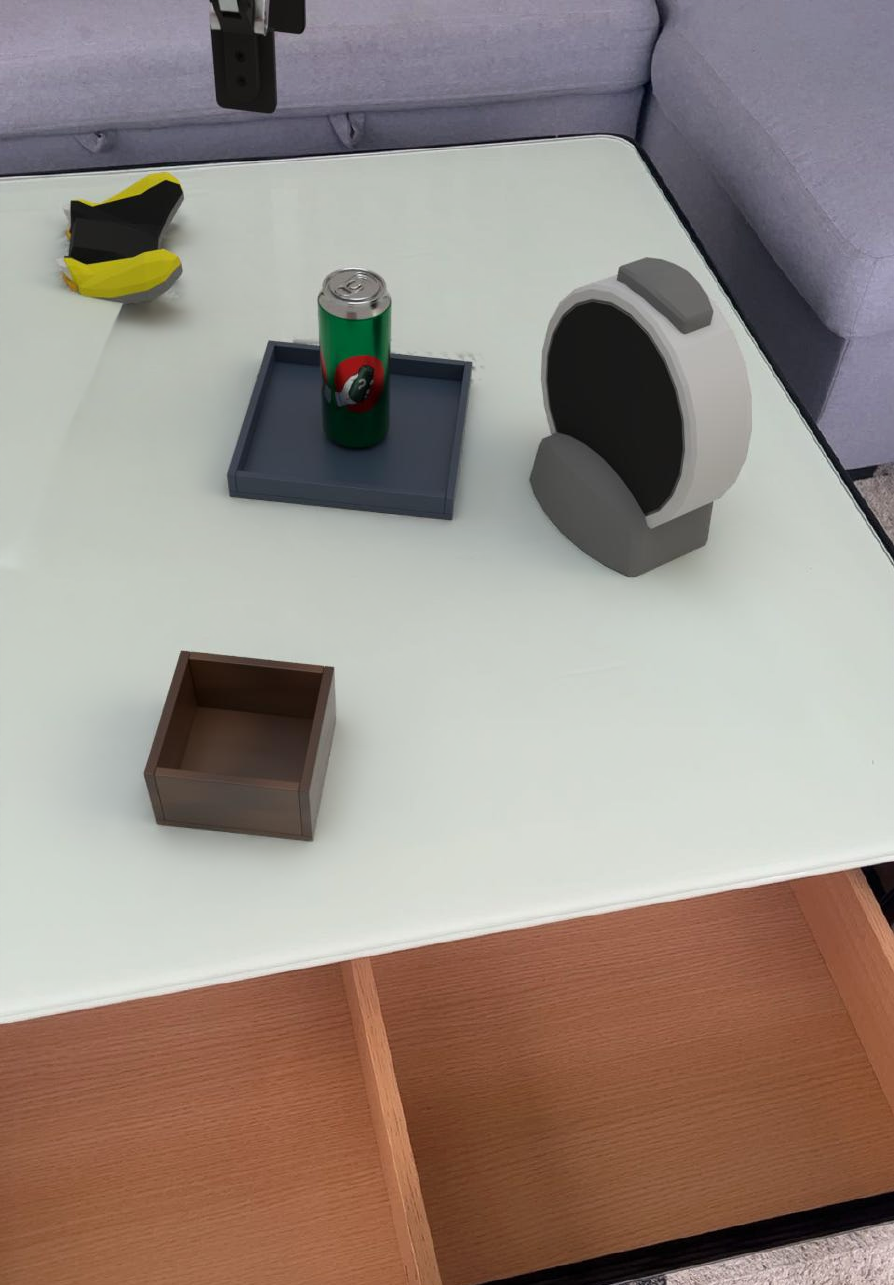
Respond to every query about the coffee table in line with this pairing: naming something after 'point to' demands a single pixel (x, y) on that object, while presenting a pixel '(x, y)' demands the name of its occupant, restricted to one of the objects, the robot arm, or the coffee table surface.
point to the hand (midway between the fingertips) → (263, 67)
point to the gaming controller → (124, 242)
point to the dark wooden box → (243, 745)
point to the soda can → (355, 357)
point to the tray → (342, 477)
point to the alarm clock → (640, 416)
